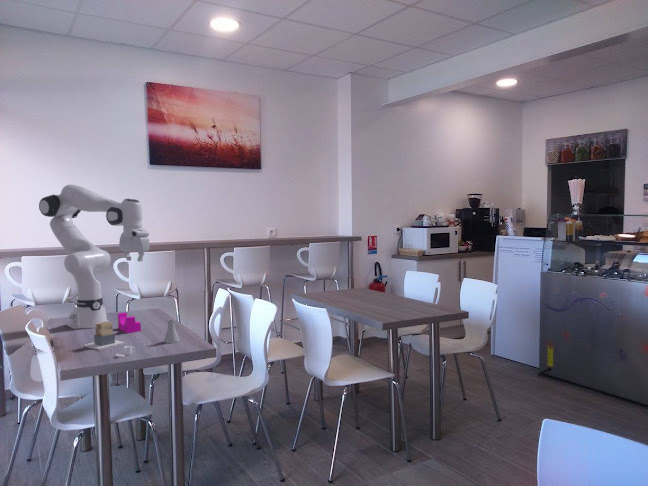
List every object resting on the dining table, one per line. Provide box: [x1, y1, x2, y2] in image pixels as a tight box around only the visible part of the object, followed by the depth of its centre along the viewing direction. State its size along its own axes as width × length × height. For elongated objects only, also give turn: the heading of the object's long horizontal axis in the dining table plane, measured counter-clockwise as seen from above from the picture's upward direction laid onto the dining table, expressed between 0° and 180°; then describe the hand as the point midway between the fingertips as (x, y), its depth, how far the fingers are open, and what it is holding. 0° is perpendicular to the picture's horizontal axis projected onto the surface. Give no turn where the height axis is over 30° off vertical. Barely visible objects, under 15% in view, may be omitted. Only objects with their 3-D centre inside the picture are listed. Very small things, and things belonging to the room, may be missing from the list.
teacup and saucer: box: [115, 345, 136, 358], centre depth 209 cm, size 9×8×4 cm
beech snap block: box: [94, 321, 114, 336], centre depth 225 cm, size 5×5×5 cm
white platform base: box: [83, 333, 126, 351], centre depth 225 cm, size 12×12×5 cm
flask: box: [163, 319, 181, 344], centre depth 229 cm, size 7×7×10 cm
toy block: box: [117, 312, 142, 334], centre depth 255 cm, size 15×6×8 cm, turn 38°
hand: (134, 260), depth 251 cm, fingers open, 8 cm apart
